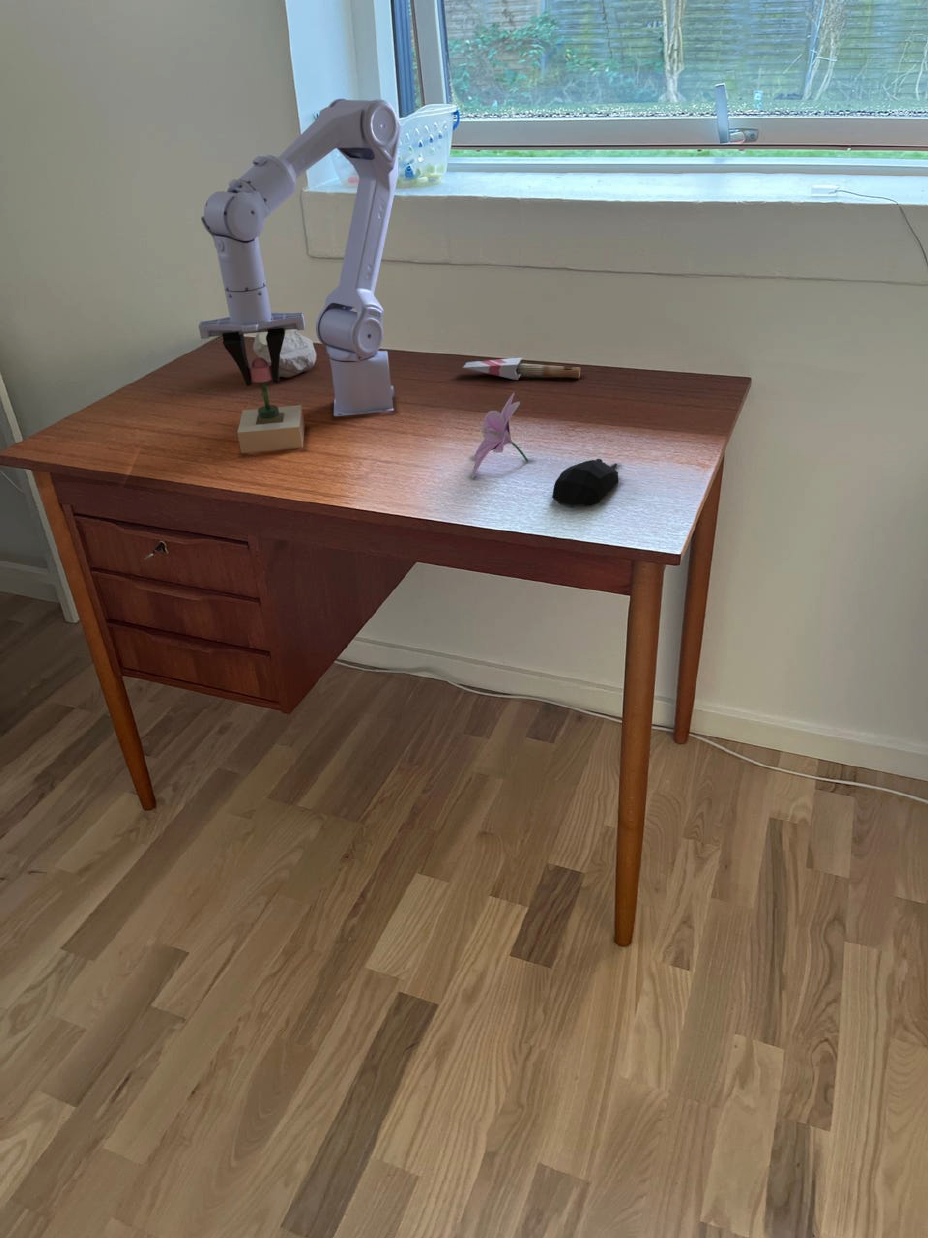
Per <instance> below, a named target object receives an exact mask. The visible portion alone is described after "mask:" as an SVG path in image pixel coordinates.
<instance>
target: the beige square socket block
mask: <svg viewBox="0 0 928 1238" xmlns="http://www.w3.org/2000/svg"><path fill="white" fill-rule="evenodd" d="M277 407H278V410H279V415H278V416H276V417H274V418H269V419H263V418H260V417H259V414H258V409H259V408H256V409H255V408H253V409H244V410H242V411H241V416H240V421H239V425H238V428H237V432H236V433H237V438H238V439H237V440H238V444H239V447H240V448H239V449H240V453H241V454H249V453H250V454H251V453H261V452H270V451H282V450H291V449H292V450H293V449H301V448H303V447H304V438H305V426H306V424H305V420H304V419H305V418H304V411H303V406H302V404H298V405H288V406H277Z"/></svg>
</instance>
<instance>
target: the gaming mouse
mask: <svg viewBox="0 0 928 1238" xmlns="http://www.w3.org/2000/svg"><path fill="white" fill-rule="evenodd" d="M617 466H618V464H617V463H613V464H611V465H608V464H607V463H606V462H603V459H601V458H596V459H590V460H585V461H582V462H579V463H577V464H574V465H570V466H569V467H567V468H566V469H564V470H563V471H562V472H561V473H560V474H559V476H558V477H557V479H556V480H555V481H554V484H553V488H552V489H553V491H552V496H551V498H552V499H553V500H554V501H555V502H557V503H558V504H559V506H560V505H561V506H566V507H570V508H582V507H583V508H585V507H592V506H595V505H597V504H599V503H600V502H601V501H603V500H604V499H605V498H606V497H607V496H608V494H609V493H610V492H611V491H612V490H613V489H614V488H615V487H616V486H617V485H618V484H619V482H620V481H619V471H617V470H616V469H615V468H616V467H617Z"/></svg>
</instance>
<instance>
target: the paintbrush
mask: <svg viewBox="0 0 928 1238" xmlns="http://www.w3.org/2000/svg"><path fill="white" fill-rule="evenodd" d="M522 359H523V356H521V357H509V358H508V357H507V358H500V359H499V358H498V359H488V360H476V361H467V362H466V363H465V364H464V365H463V366H462V369H467V370H471V371H475V372H479V373H485V374H489V375H492V376H498V377H501V378H506V379H510V380H515V381H518V380H519V378H520V377H521V375H524V376H537V377H551V378H570V379H578V380H579V379H580V376H581V367H578V366H577V367H576V366H571V367H567V366H563V365H562V366H561V365H548V364H547V365H546V364H533V363H521V361H522Z"/></svg>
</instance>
